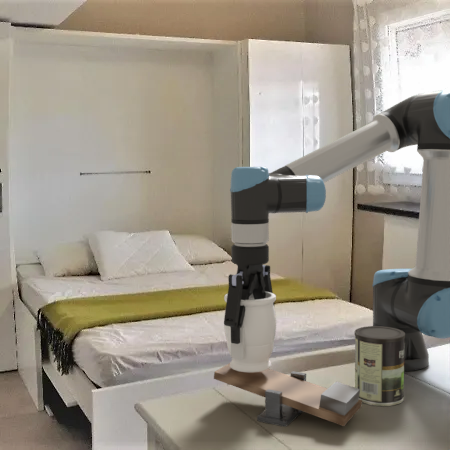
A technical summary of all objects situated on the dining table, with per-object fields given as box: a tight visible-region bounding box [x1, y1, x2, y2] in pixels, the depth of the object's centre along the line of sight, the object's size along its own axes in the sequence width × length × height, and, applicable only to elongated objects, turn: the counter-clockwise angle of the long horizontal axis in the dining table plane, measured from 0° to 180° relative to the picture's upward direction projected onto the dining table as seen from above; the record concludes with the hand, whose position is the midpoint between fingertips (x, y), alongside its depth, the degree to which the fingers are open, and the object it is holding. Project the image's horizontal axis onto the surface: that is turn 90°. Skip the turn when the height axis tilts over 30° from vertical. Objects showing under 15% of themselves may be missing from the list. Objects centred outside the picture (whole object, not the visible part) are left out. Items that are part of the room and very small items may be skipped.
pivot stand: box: [256, 370, 307, 428], centre depth 129 cm, size 6×14×6 cm, turn 150°
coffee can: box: [354, 325, 405, 407], centre depth 136 cm, size 10×10×14 cm
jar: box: [223, 291, 277, 373], centre depth 132 cm, size 11×10×15 cm
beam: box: [213, 362, 363, 427], centre depth 129 cm, size 28×10×4 cm, turn 60°
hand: (250, 351), depth 133 cm, fingers closed on jar, 10 cm apart
